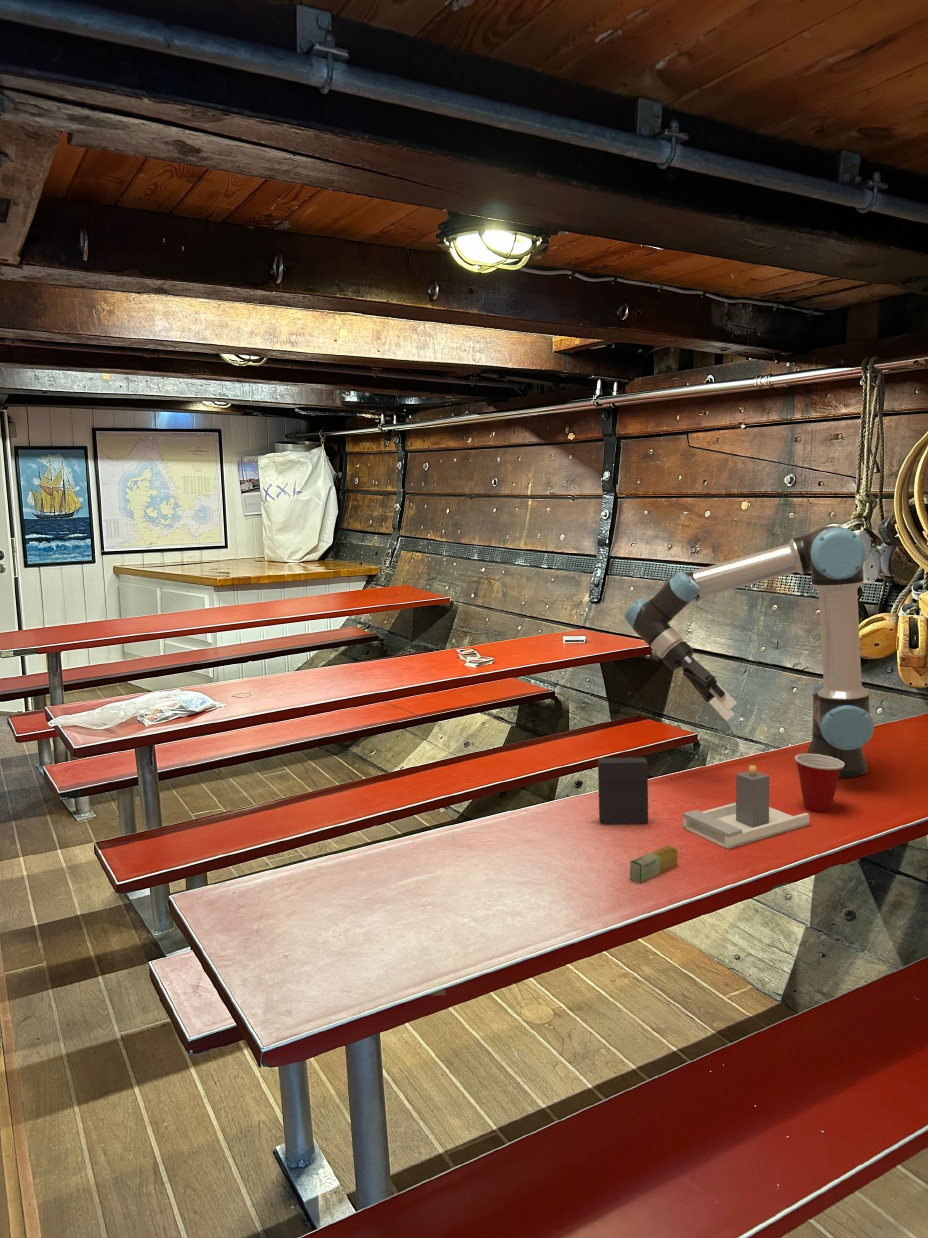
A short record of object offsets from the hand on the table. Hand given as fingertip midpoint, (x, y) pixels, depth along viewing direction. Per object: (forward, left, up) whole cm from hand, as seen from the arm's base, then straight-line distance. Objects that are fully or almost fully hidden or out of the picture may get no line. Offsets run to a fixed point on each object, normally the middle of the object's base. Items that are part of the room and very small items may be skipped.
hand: (731, 712), depth 210 cm
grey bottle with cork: (+10, +17, -20) cm, 28 cm away
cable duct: (+12, +17, -21) cm, 30 cm away
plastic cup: (-10, +18, -21) cm, 29 cm away
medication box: (+44, +24, -21) cm, 55 cm away
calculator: (+33, 0, -21) cm, 39 cm away
